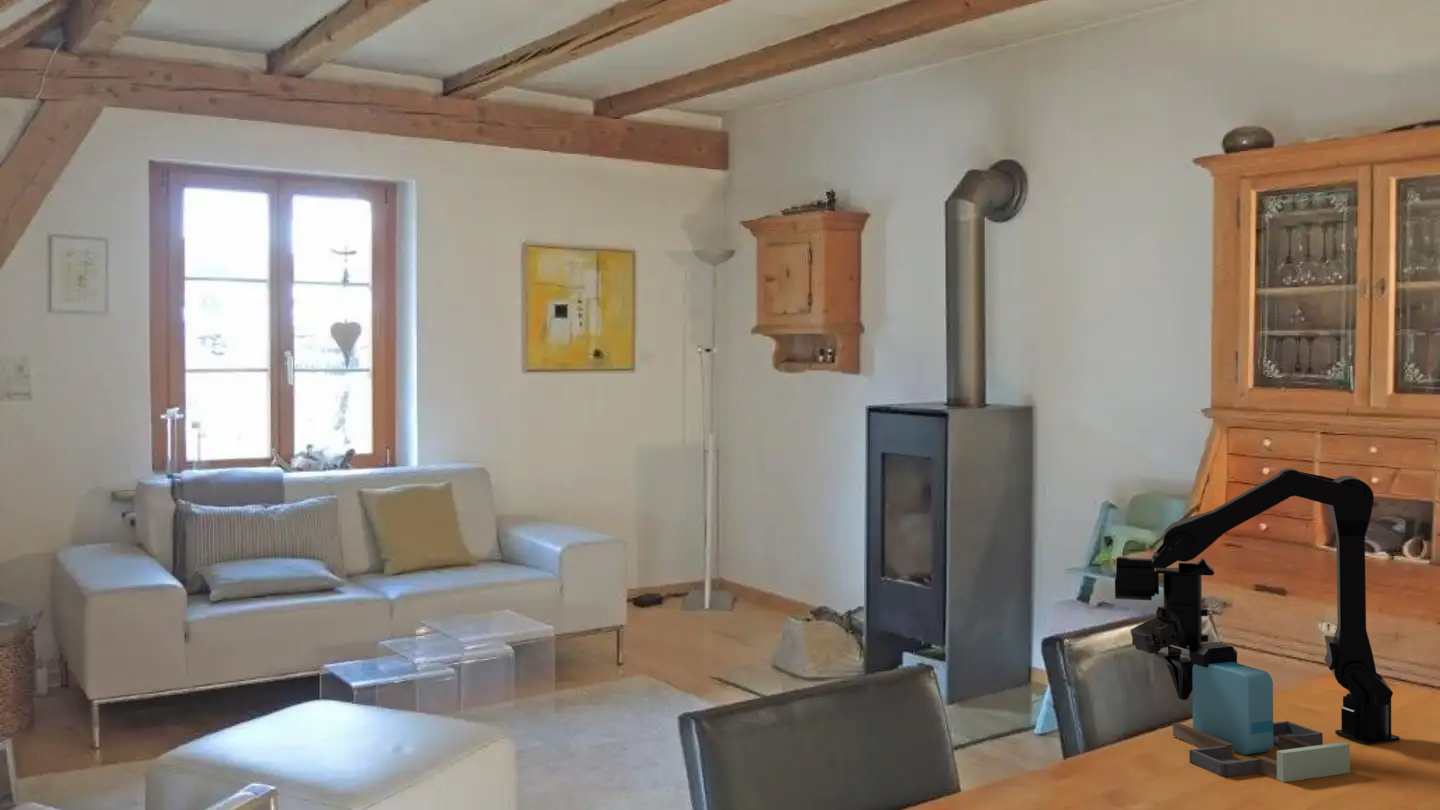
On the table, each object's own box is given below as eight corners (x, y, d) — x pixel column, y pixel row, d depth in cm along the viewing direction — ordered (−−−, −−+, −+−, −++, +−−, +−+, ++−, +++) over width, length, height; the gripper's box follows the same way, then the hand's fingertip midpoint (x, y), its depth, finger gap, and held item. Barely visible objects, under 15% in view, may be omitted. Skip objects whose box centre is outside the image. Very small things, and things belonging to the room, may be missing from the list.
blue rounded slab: (1274, 754, 186) (1273, 672, 186) (1250, 757, 185) (1249, 676, 184) (1215, 732, 198) (1214, 656, 197) (1192, 736, 196) (1191, 659, 196)
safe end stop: (1343, 770, 178) (1342, 741, 178) (1349, 772, 177) (1349, 744, 177) (1276, 779, 175) (1276, 750, 175) (1283, 782, 174) (1283, 753, 174)
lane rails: (1234, 729, 199) (1234, 716, 199) (1343, 770, 178) (1342, 756, 178) (1173, 736, 196) (1173, 723, 196) (1276, 779, 175) (1276, 765, 175)
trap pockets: (1287, 732, 197) (1287, 720, 197) (1359, 758, 184) (1359, 746, 183) (1158, 748, 190) (1158, 736, 190) (1223, 777, 176) (1223, 764, 176)
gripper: (1104, 595, 208) (1104, 690, 208) (1178, 616, 190) (1179, 719, 191) (1161, 591, 212) (1162, 684, 212) (1239, 610, 194) (1240, 712, 194)
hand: (1183, 699), depth 202 cm, fingers closed
